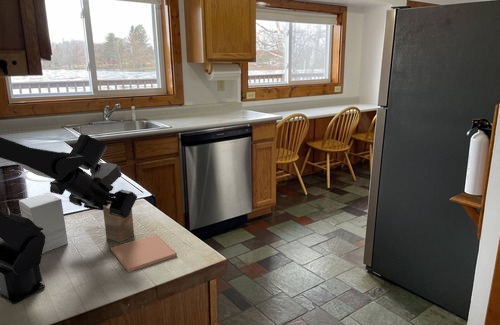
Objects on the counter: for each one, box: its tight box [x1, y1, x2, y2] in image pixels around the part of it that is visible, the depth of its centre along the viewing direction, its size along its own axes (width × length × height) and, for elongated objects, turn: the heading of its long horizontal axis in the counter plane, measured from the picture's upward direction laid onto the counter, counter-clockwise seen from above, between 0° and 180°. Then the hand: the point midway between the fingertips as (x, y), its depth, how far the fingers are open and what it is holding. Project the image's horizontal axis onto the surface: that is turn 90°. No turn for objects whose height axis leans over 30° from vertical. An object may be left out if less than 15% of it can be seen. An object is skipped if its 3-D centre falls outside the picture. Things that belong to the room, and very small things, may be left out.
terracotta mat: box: [110, 233, 178, 273], centre depth 91 cm, size 12×12×1 cm
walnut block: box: [102, 203, 135, 243], centre depth 98 cm, size 5×5×9 cm
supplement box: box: [18, 192, 69, 254], centre depth 93 cm, size 7×7×13 cm
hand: (122, 211), depth 99 cm, fingers closed on walnut block, 5 cm apart
